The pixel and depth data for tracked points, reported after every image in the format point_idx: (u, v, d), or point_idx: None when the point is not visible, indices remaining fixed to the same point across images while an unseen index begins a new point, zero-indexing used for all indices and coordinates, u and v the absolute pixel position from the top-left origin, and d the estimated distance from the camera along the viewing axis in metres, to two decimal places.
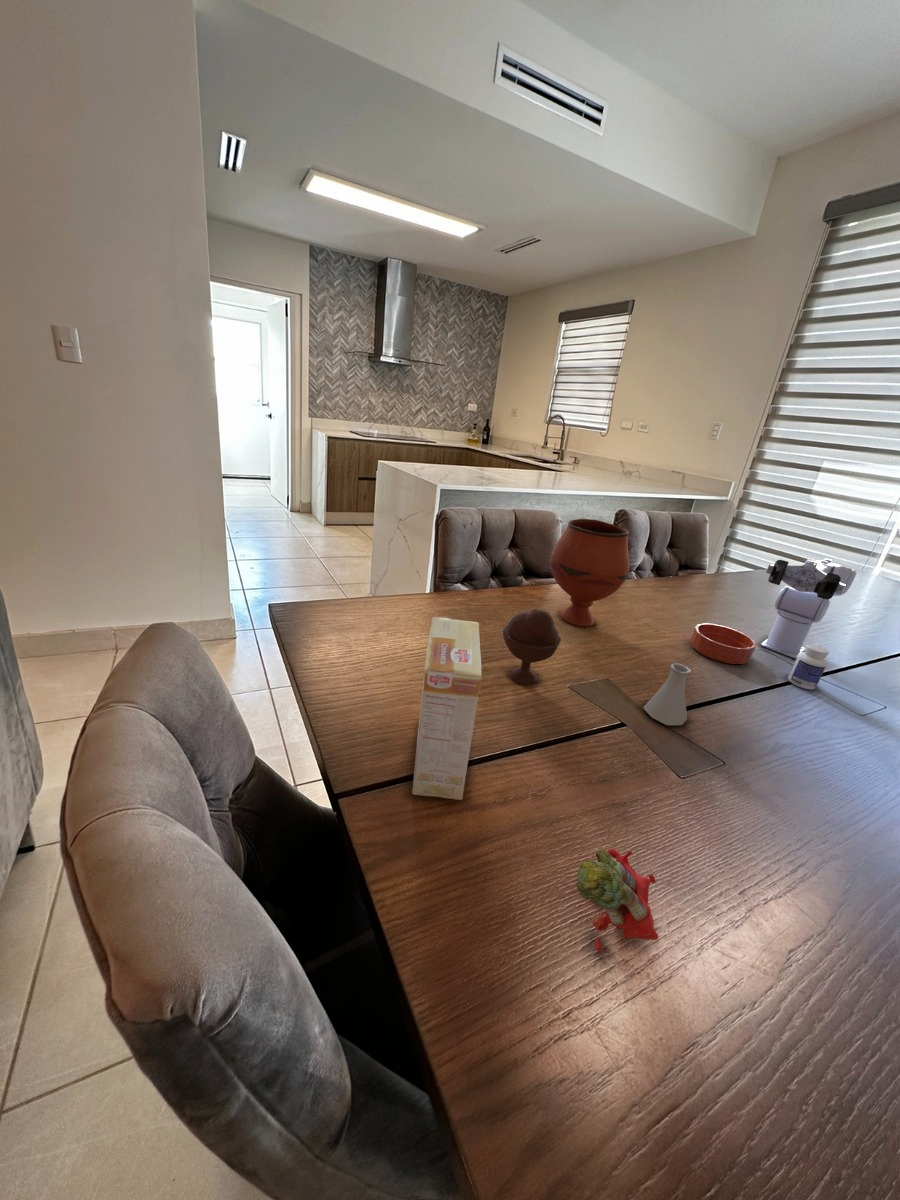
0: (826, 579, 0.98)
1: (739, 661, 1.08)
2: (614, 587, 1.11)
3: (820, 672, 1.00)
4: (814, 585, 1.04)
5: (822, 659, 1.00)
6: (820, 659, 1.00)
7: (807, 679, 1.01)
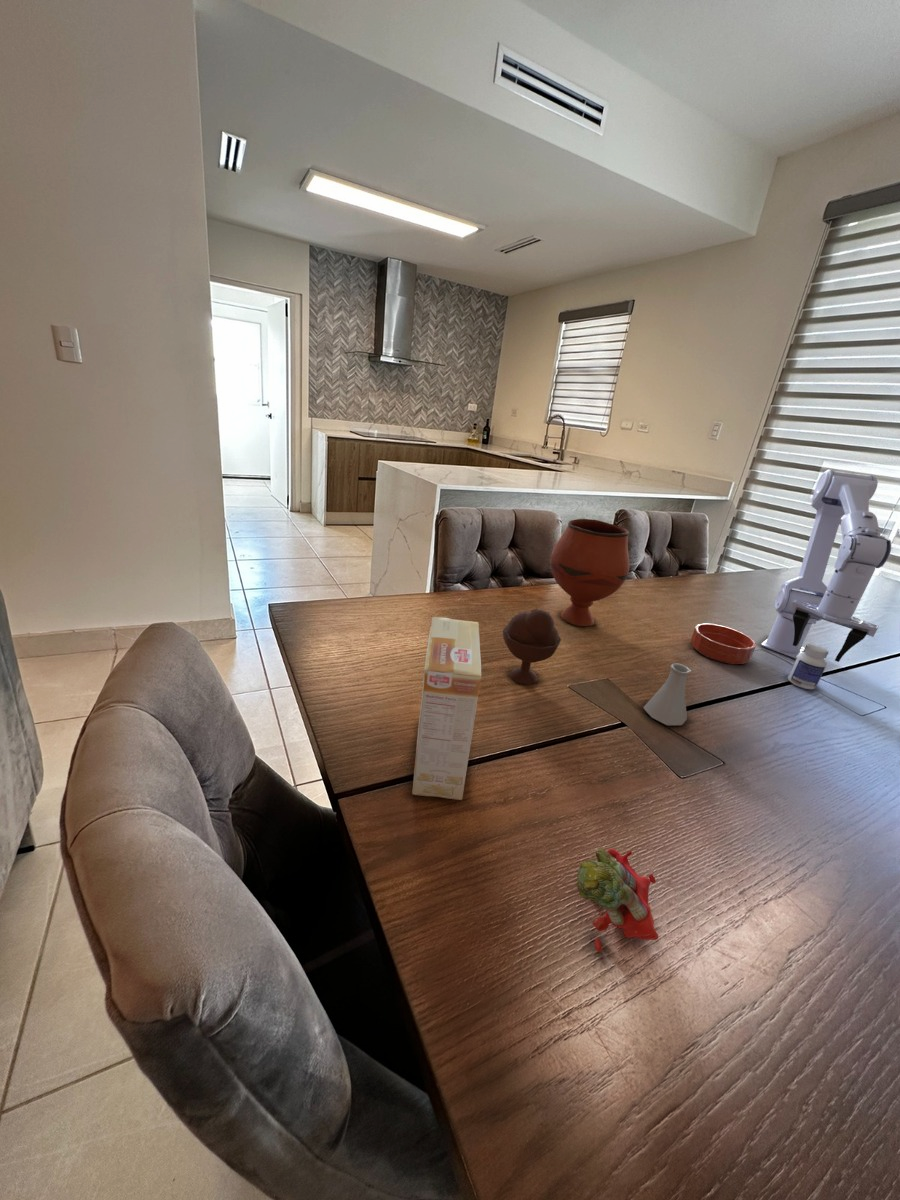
0: (845, 648, 0.96)
1: (739, 661, 1.08)
2: (614, 587, 1.11)
3: (820, 672, 1.00)
4: None
5: (822, 659, 1.00)
6: (820, 659, 1.00)
7: (807, 679, 1.01)
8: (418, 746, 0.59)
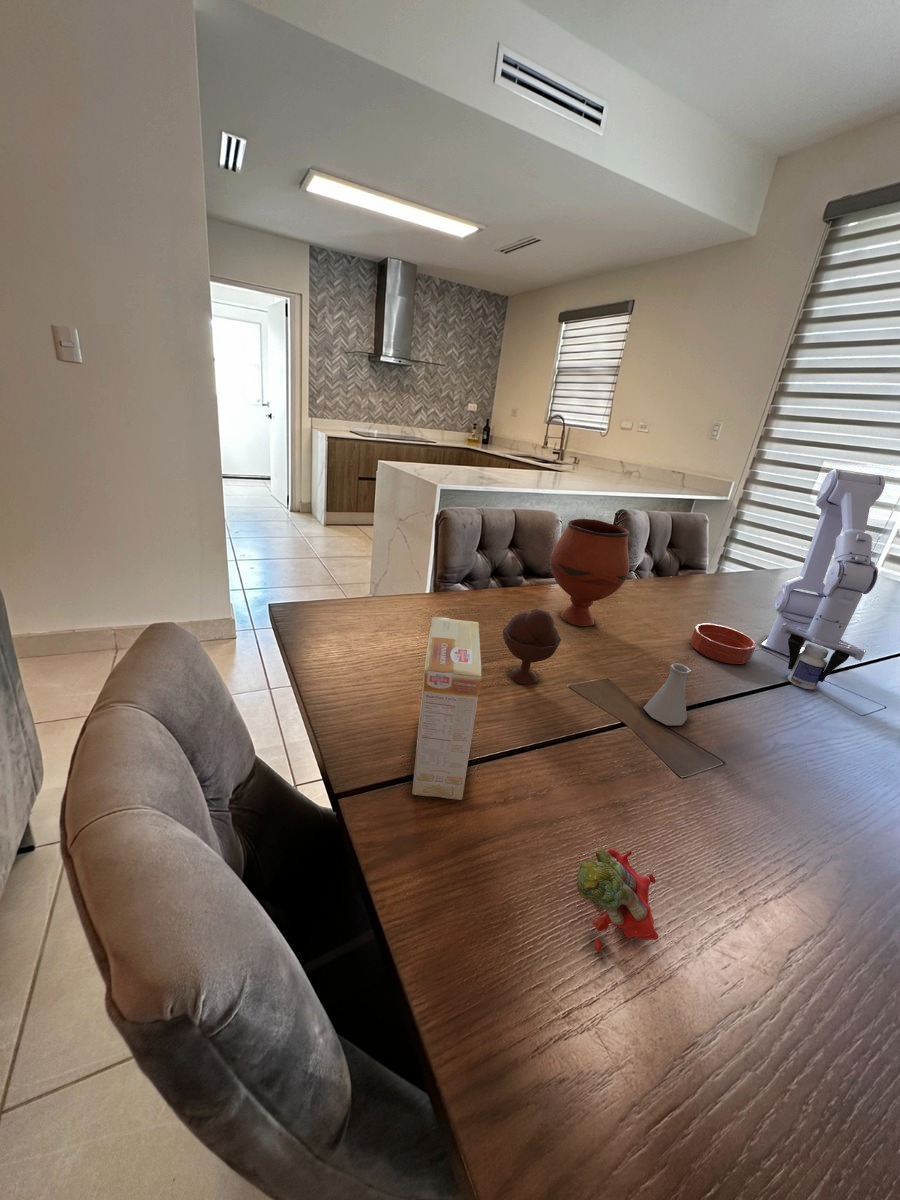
0: (828, 669, 0.98)
1: (739, 661, 1.08)
2: (614, 587, 1.11)
3: (820, 672, 1.00)
4: None
5: (822, 659, 1.00)
6: (820, 659, 1.00)
7: (807, 680, 1.01)
8: (418, 746, 0.59)
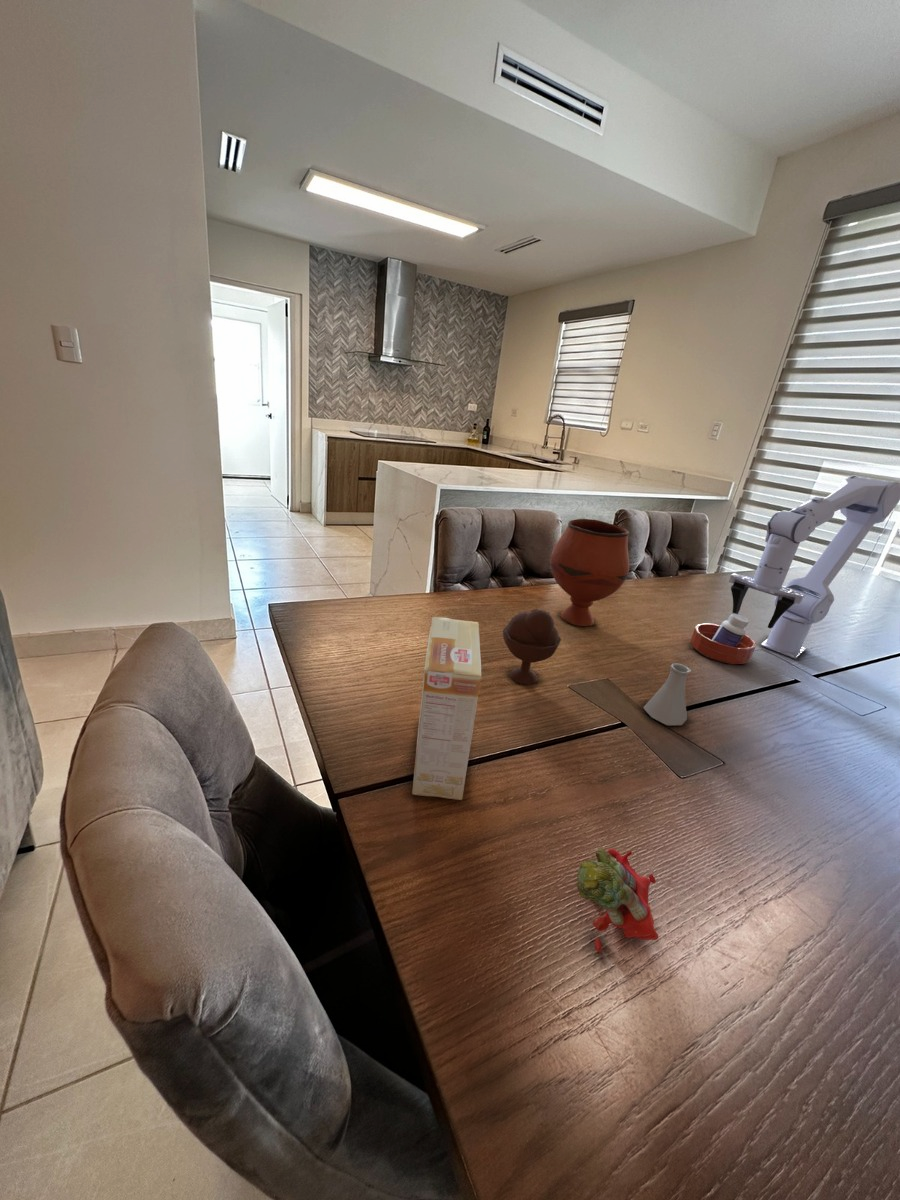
0: (776, 615, 1.05)
1: (739, 661, 1.08)
2: (614, 587, 1.11)
3: (738, 639, 1.09)
4: None
5: (742, 628, 1.09)
6: (740, 627, 1.09)
7: None
8: (418, 746, 0.59)
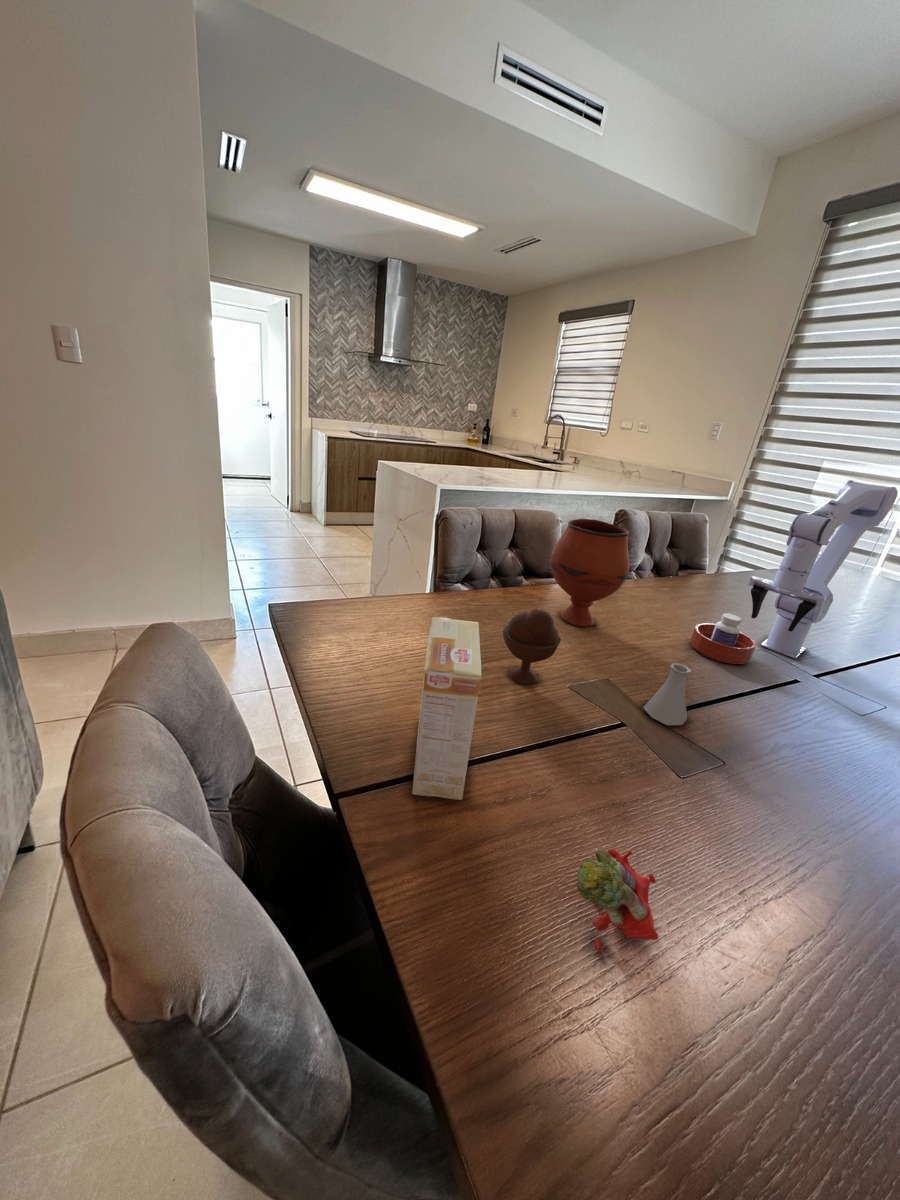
0: (797, 619, 1.04)
1: (739, 661, 1.08)
2: (614, 587, 1.11)
3: (734, 638, 1.10)
4: None
5: (735, 626, 1.10)
6: (734, 626, 1.09)
7: None
8: (418, 746, 0.59)
